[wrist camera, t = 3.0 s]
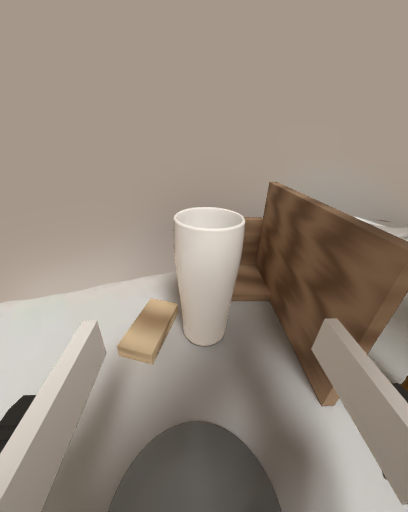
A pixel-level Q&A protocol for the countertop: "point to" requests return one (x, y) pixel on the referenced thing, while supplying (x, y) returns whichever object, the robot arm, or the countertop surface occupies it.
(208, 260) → the drinking glass
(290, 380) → the countertop surface
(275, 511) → the coaster
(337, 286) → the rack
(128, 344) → the offcut flat
